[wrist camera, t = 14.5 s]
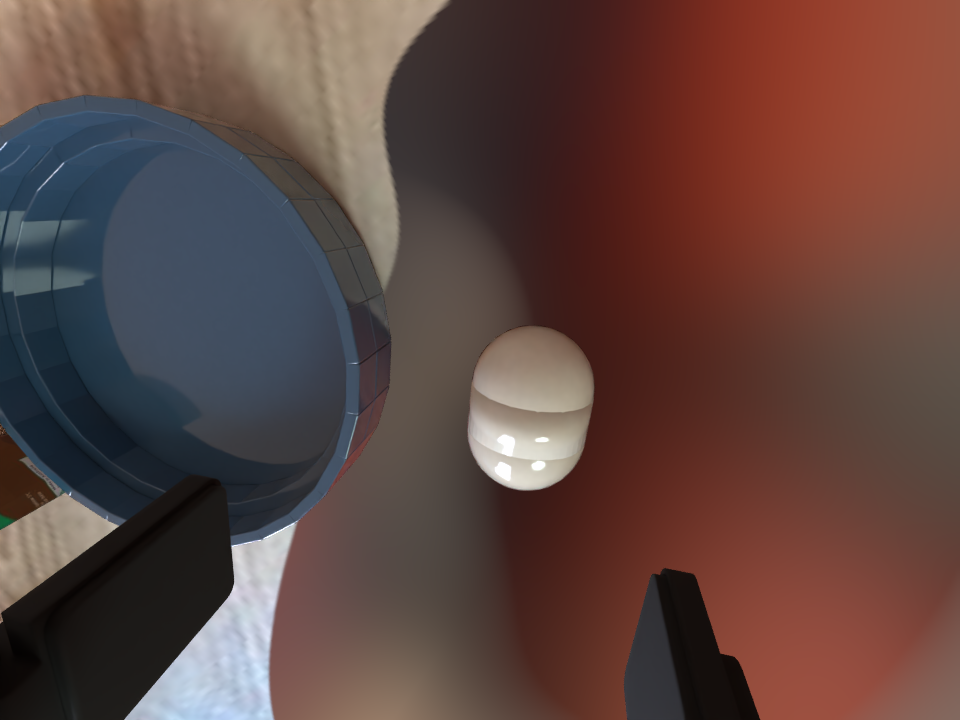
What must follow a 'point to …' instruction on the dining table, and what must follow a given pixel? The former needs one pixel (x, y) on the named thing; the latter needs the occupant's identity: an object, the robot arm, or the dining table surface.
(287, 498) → the basin
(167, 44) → the dining table surface
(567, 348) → the egg
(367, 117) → the dining table surface
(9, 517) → the food container
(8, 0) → the dining table surface
